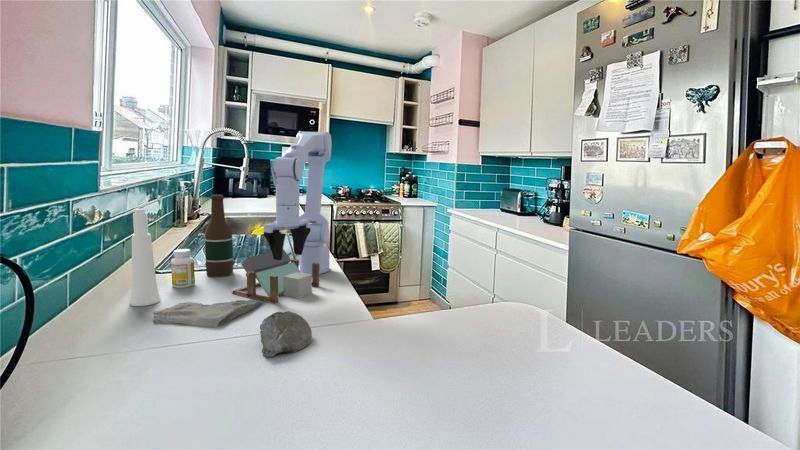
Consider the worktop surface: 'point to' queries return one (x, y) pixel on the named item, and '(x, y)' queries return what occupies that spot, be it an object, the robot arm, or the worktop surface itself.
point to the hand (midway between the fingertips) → (288, 256)
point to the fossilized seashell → (284, 333)
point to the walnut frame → (271, 284)
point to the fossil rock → (204, 312)
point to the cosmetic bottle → (142, 263)
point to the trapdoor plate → (270, 269)
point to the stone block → (297, 285)
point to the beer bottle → (218, 241)
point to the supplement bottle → (182, 269)
